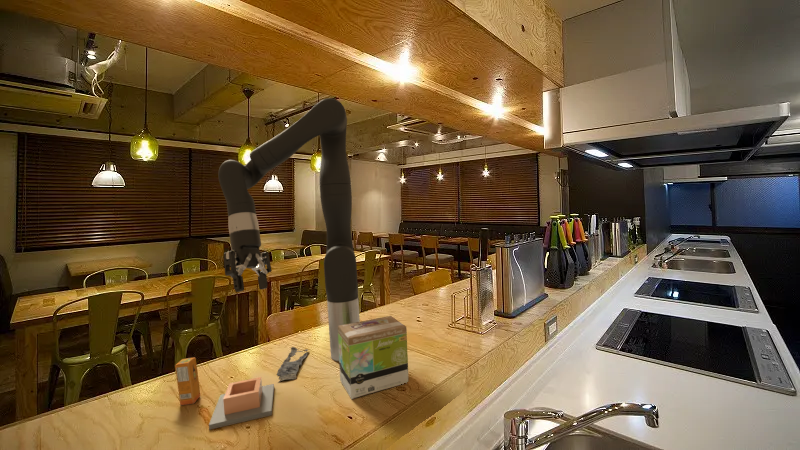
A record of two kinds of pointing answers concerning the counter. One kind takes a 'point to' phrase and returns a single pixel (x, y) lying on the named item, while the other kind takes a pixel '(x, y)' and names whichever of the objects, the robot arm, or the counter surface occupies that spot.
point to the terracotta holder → (243, 395)
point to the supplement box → (187, 381)
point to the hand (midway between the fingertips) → (252, 290)
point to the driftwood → (290, 365)
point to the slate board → (264, 410)
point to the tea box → (372, 355)
